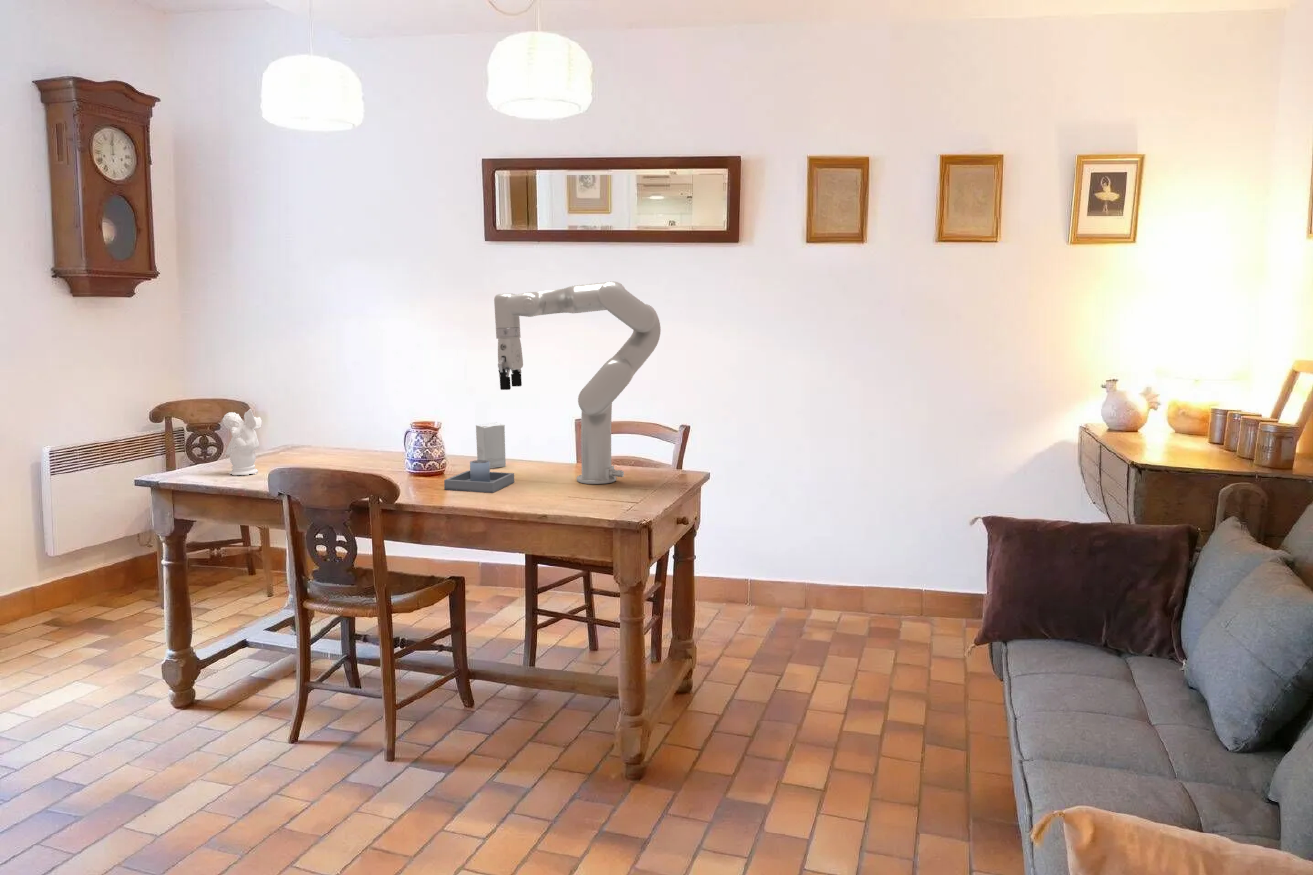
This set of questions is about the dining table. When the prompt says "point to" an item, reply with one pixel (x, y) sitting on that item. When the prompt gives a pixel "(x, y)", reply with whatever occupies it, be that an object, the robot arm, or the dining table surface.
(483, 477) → the cup
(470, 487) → the tray
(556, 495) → the dining table surface
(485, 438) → the skincare box
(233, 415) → the cherub figurine
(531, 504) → the dining table surface
